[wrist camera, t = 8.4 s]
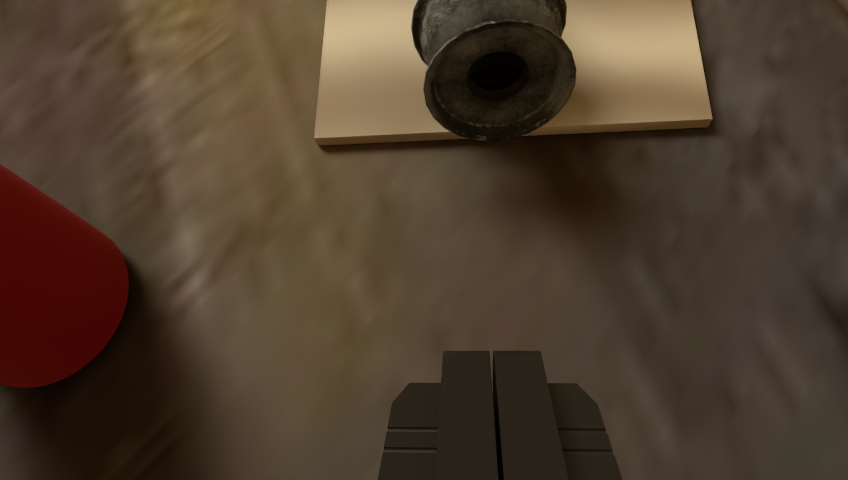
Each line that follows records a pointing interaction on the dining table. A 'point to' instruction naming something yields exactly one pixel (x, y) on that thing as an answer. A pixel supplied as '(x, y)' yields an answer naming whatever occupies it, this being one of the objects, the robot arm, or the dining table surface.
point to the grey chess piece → (493, 64)
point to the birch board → (584, 34)
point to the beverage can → (53, 287)
